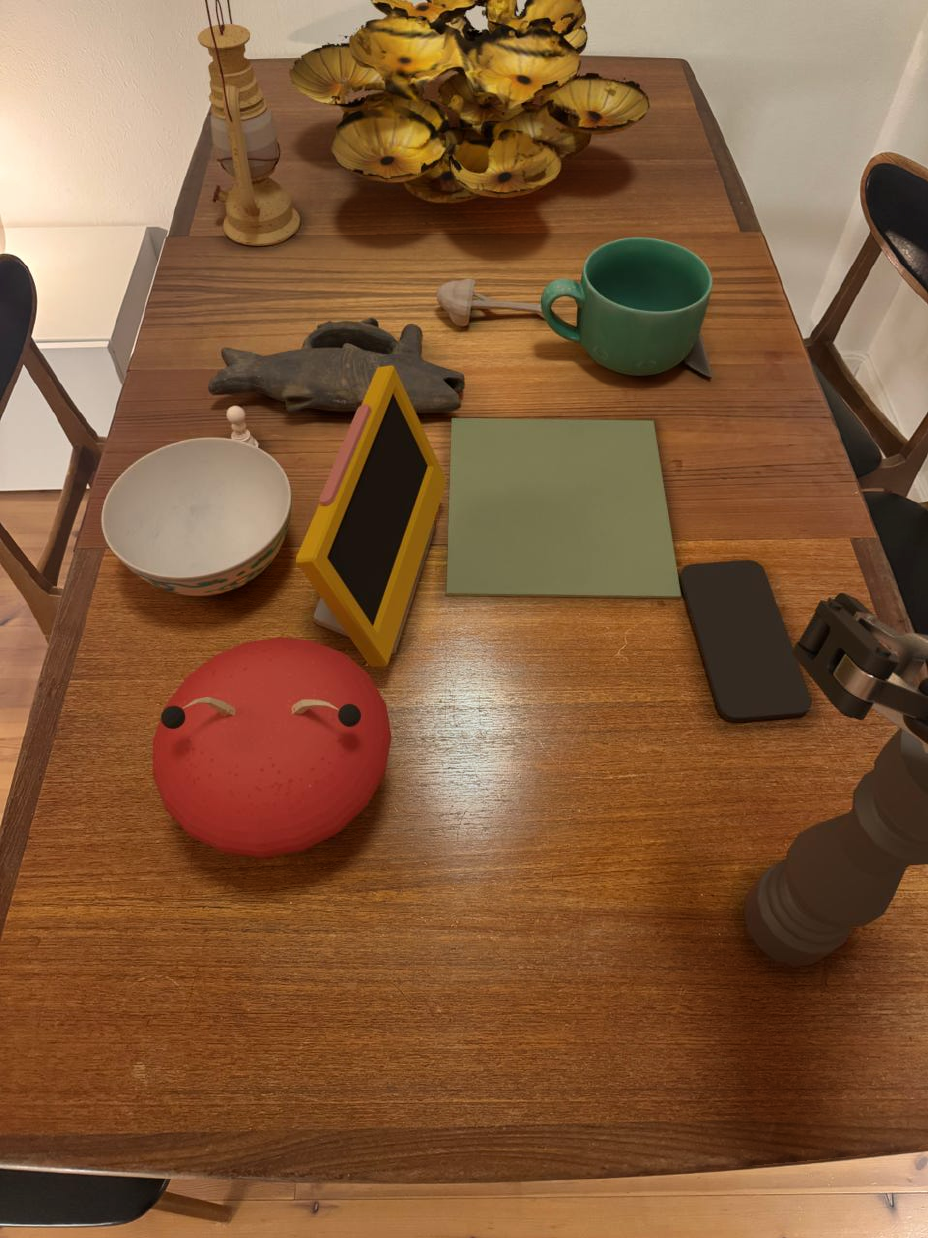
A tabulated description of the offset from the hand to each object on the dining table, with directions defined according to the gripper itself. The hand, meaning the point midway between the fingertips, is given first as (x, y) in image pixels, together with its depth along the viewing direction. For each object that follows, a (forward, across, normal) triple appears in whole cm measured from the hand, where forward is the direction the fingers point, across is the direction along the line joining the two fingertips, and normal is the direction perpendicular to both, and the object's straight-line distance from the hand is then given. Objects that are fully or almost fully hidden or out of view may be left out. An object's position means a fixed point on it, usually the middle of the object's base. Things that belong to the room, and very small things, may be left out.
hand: (918, 647), depth 40 cm
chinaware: (+32, +41, +22) cm, 56 cm away
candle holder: (+12, -9, +23) cm, 27 cm away
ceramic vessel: (+52, +39, +6) cm, 65 cm away
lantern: (+73, +59, -4) cm, 94 cm away
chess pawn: (+43, +44, +15) cm, 64 cm away
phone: (+30, -3, +11) cm, 32 cm away
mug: (+59, +14, -6) cm, 61 cm away
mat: (+41, +15, +8) cm, 44 cm away
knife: (+61, +7, -10) cm, 63 cm away
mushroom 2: (+16, +26, +30) cm, 43 cm away
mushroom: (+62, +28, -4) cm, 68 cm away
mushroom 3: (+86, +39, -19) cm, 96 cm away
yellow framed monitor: (+32, +27, +18) cm, 45 cm away
